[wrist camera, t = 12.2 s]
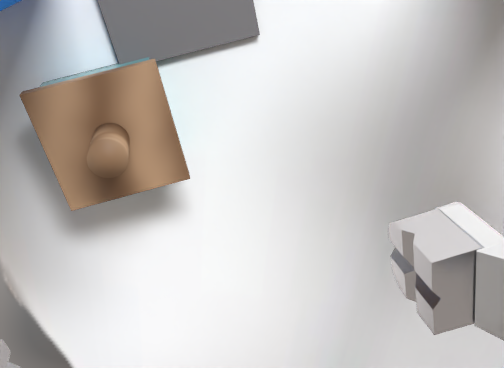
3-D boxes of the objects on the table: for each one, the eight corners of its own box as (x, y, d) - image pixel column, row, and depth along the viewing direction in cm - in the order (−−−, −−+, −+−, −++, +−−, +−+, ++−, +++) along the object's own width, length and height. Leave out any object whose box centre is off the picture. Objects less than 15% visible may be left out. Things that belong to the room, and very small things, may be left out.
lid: (154, 58, 36) (156, 74, 32) (189, 173, 41) (194, 201, 37) (22, 91, 36) (5, 112, 31) (72, 205, 40) (64, 237, 36)
